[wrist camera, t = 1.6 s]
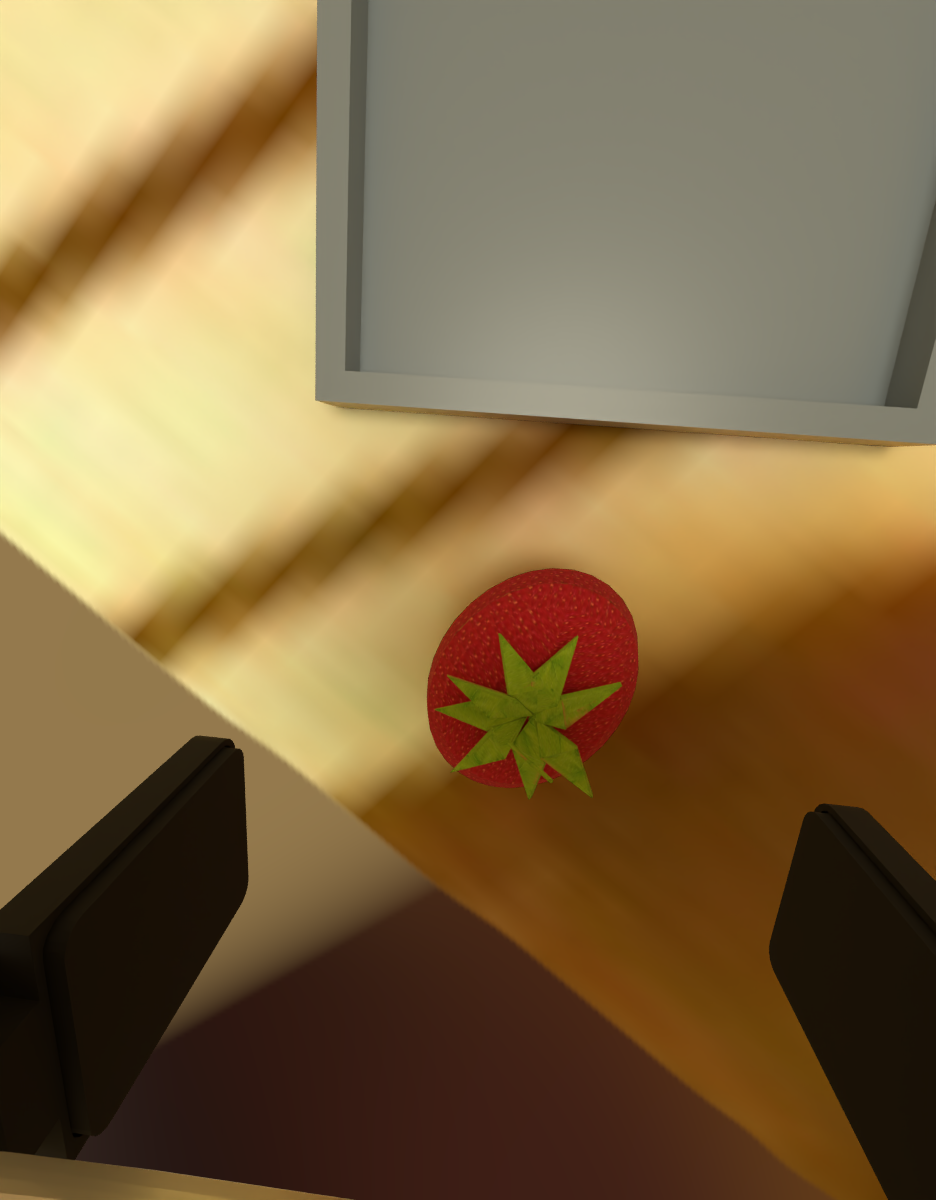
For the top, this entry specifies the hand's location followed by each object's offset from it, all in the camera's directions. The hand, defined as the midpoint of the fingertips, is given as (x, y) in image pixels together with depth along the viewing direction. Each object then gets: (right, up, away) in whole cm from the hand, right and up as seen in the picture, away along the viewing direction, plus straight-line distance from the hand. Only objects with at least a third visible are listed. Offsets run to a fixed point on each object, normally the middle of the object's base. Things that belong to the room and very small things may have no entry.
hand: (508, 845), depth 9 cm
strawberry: (+2, +3, +13) cm, 14 cm away
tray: (+5, +18, +9) cm, 21 cm away
